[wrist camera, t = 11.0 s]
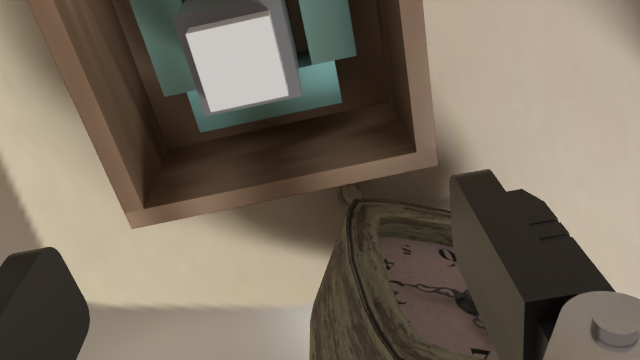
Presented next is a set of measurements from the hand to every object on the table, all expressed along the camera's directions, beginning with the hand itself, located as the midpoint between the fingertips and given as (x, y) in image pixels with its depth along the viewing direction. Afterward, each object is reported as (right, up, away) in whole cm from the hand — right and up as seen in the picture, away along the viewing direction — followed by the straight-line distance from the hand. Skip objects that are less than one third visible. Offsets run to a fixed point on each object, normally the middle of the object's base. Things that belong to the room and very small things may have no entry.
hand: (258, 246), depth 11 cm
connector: (-3, +11, +18) cm, 21 cm away
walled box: (-3, +11, +19) cm, 22 cm away
